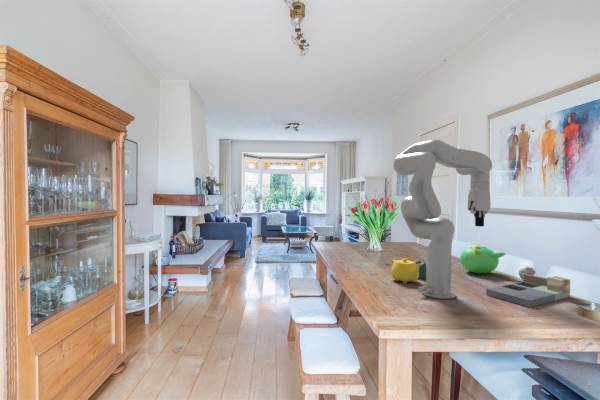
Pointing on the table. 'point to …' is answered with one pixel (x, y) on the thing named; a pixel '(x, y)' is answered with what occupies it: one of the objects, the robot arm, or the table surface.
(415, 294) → the table surface
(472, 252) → the green rounded piece
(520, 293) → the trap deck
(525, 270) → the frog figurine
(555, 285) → the block
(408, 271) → the teapot
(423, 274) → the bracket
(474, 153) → the robot arm
